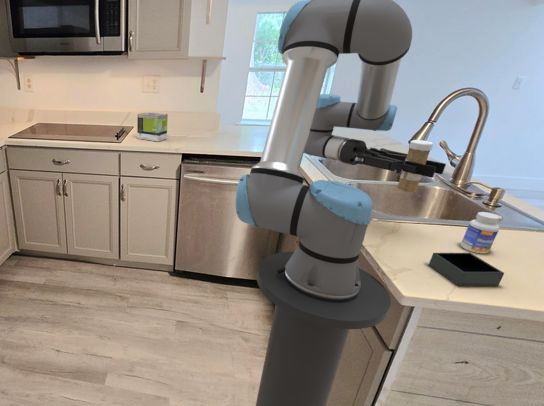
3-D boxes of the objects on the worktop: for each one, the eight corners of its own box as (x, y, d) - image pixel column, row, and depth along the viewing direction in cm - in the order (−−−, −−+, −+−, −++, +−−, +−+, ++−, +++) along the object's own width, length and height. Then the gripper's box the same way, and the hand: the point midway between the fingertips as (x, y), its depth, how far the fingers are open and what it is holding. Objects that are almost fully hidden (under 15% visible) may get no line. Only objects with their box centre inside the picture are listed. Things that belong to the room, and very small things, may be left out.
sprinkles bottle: (411, 193, 97) (428, 144, 92) (392, 188, 101) (407, 140, 95) (420, 190, 99) (437, 142, 93) (401, 185, 102) (416, 138, 97)
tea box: (167, 138, 215) (168, 113, 209) (157, 142, 208) (158, 116, 202) (146, 135, 224) (147, 111, 218) (136, 138, 217) (136, 113, 211)
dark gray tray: (457, 286, 81) (463, 272, 79) (428, 265, 89) (433, 252, 87) (498, 286, 80) (504, 273, 79) (464, 265, 88) (470, 252, 87)
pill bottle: (474, 254, 92) (489, 220, 88) (454, 243, 97) (468, 210, 93) (495, 253, 92) (511, 219, 88) (474, 243, 97) (488, 210, 93)
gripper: (359, 158, 117) (450, 178, 98) (325, 166, 109) (416, 190, 90) (365, 134, 114) (460, 151, 95) (331, 142, 106) (426, 161, 87)
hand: (438, 170), depth 93 cm, fingers closed on sprinkles bottle, 4 cm apart
